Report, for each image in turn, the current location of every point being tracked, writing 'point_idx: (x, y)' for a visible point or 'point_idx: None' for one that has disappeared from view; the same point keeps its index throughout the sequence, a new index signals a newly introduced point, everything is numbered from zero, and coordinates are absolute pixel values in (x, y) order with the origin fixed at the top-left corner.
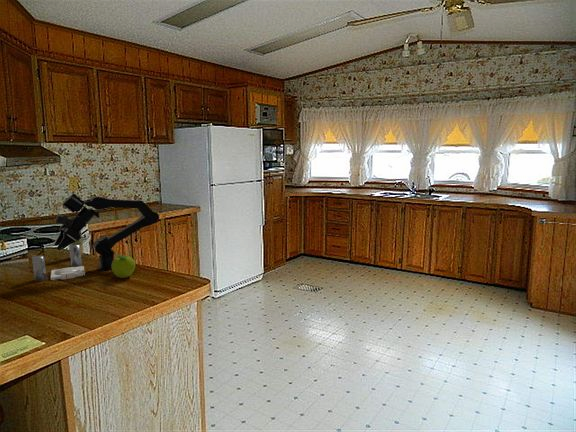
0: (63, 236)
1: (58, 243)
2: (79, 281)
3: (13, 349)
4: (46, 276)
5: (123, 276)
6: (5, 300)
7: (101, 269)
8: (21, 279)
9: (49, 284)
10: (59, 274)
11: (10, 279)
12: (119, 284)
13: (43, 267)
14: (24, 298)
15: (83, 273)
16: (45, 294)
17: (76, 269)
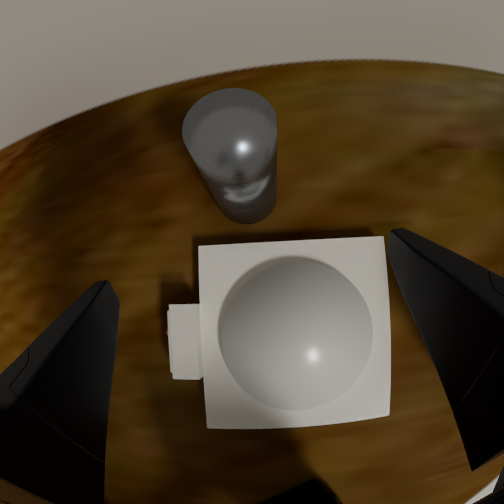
0: (483, 370)
1: (405, 284)
2: None
3: None
4: (245, 220)
5: None
6: (34, 134)
7: (275, 497)
8: (304, 111)
9: (124, 249)
10: (238, 291)
11: (328, 75)
12: None
13: (213, 191)
14: (15, 186)
15: (207, 420)
16: (12, 248)
17: (284, 389)
